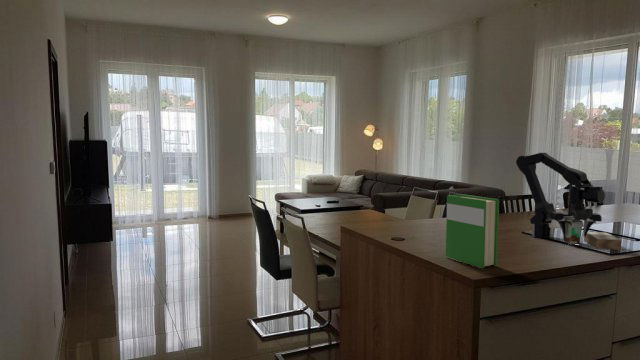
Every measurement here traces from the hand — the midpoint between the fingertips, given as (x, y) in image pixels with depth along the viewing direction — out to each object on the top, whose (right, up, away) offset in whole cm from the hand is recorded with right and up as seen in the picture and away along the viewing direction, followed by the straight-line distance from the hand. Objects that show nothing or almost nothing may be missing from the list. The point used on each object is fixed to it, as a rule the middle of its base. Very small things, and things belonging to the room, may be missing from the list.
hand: (574, 236), depth 196 cm
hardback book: (-55, -6, -30) cm, 63 cm away
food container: (0, -3, 0) cm, 3 cm away
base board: (+9, -3, -4) cm, 11 cm away
